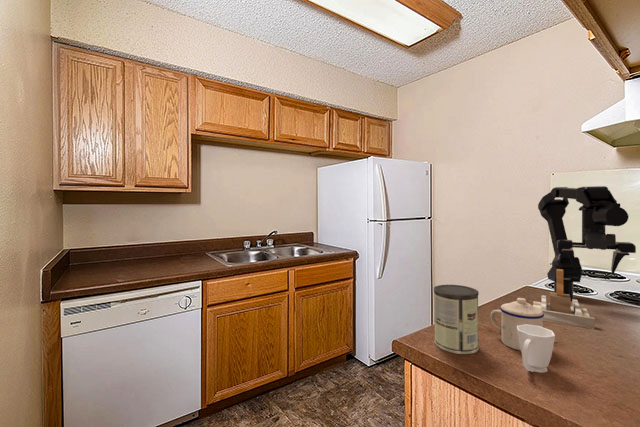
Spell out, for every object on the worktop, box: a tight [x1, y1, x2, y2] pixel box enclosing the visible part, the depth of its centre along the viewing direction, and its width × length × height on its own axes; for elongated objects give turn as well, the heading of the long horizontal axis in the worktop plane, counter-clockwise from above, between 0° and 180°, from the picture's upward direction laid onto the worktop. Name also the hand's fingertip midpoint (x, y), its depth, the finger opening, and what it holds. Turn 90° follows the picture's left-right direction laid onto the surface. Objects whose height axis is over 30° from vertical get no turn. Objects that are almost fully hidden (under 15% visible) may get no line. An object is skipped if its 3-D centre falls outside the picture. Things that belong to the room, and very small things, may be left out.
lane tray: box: [532, 295, 596, 330], centre depth 94 cm, size 20×14×4 cm
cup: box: [517, 324, 556, 374], centre depth 64 cm, size 7×10×8 cm
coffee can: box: [433, 284, 480, 355], centre depth 76 cm, size 10×10×14 cm
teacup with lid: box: [489, 297, 544, 352], centre depth 77 cm, size 12×9×12 cm
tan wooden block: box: [549, 269, 572, 314], centre depth 96 cm, size 5×5×13 cm
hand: (593, 271), depth 99 cm, fingers open, 9 cm apart
